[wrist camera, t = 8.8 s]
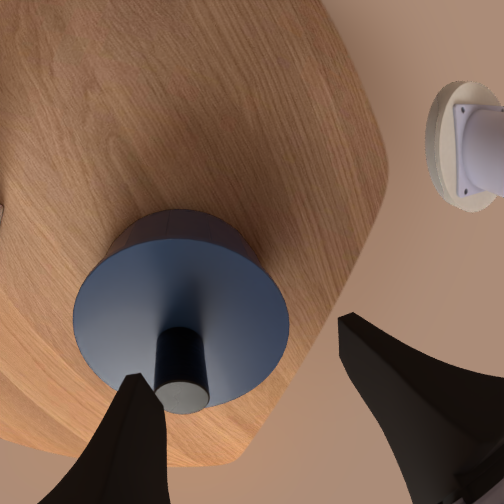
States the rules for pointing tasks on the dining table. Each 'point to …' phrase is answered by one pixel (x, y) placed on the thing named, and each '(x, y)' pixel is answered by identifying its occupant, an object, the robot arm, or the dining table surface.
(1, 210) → the cosmetics box
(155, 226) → the tin
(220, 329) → the tin lid
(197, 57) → the dining table surface
